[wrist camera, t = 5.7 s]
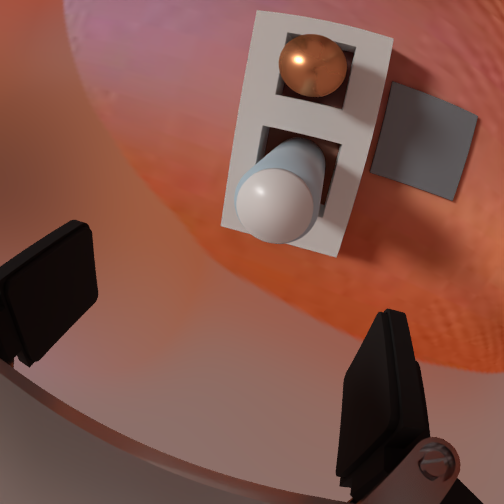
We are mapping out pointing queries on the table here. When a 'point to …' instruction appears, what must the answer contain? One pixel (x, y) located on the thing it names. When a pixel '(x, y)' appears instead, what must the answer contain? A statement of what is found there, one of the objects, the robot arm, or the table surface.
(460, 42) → the table surface
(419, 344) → the table surface
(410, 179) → the mat
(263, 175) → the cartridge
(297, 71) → the plunger
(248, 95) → the housing
